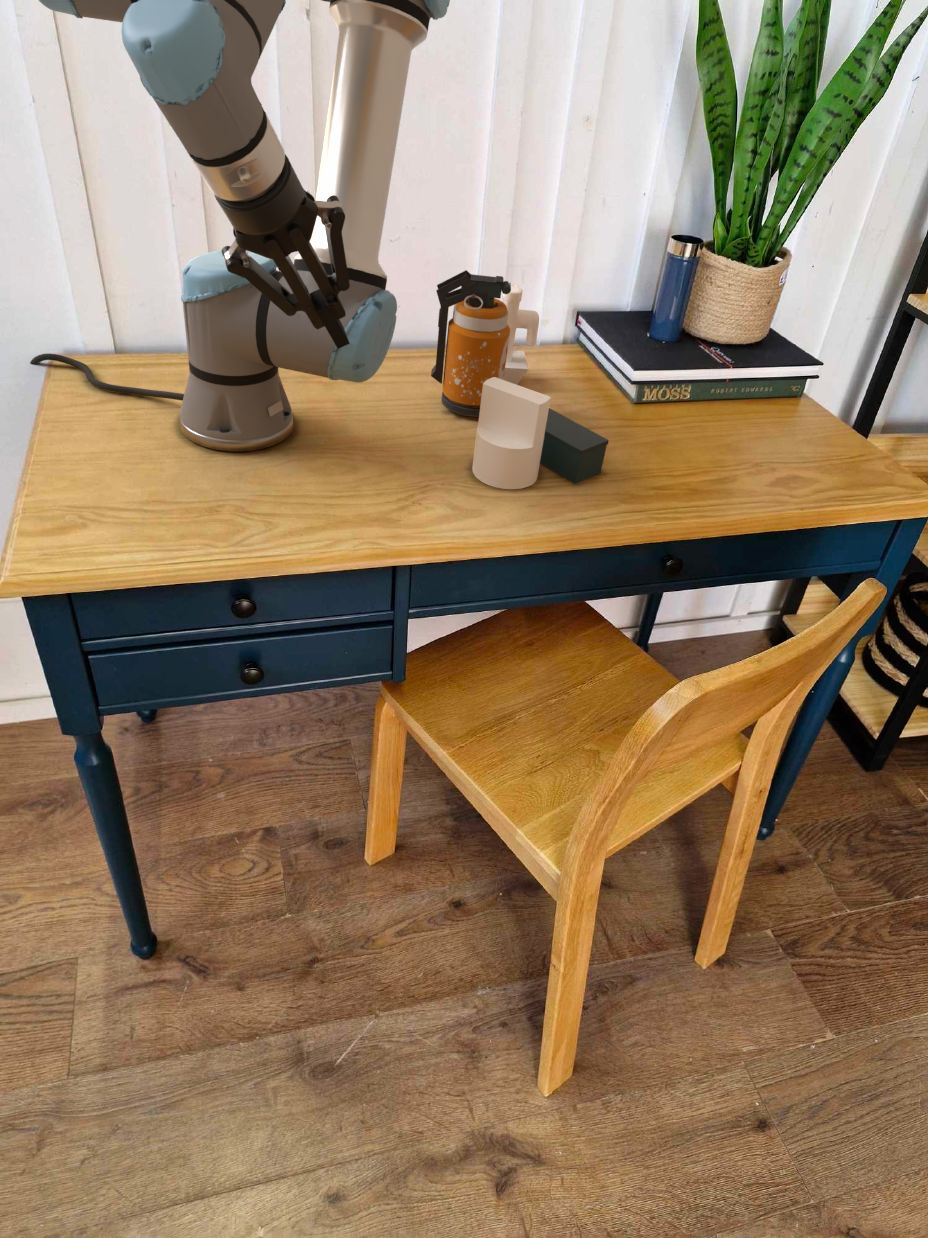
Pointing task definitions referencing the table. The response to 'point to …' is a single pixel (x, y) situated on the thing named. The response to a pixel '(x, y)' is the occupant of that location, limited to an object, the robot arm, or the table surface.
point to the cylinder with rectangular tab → (509, 434)
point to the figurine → (516, 319)
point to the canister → (471, 339)
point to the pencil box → (571, 448)
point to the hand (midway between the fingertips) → (340, 337)
